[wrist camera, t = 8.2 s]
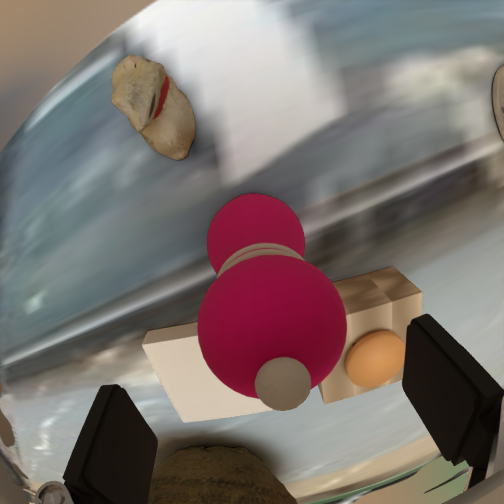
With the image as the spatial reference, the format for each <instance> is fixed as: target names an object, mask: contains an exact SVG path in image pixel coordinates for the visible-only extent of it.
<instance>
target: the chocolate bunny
mask: <svg viewBox="0 0 504 504" xmlns="http://www.w3.org/2000/svg"><path fill="white" fill-rule="evenodd" d="M112 85H113V89H114V91H113V93H112V103H113V104H114V106H115V107H117V108H118V109H119V110H120V111H121V112H123V113H124V114H125V115H127V116H128V118H129V120H130V123H131V125H132V126H133V127H134V128H135V129H136V130H137V131H138V132H139V133H141V135H142V136H143V138H144V139H145V140H146V142H147V143H148V144H149V145H150V146H151V147H152V148H153V149H154V150H155V151H157V152H158V153H160V154H162V155H164V156H167V157H170V158H172V159H175V160H182V159H184V158H186V157H187V155H188V152H189V148H190V145H191V143H192V141H193V140H194V136H195V131H196V125H195V118H194V115H193V112H192V108H191V106H190V103H189V101H188V99H187V97H186V96H185V95H184V93H183V92H182V91H180V90H179V89H178V88H177V86H176V85H175V83H174V81H173V80H172V78H171V77H170V76H168V75H167V74H166V73H165V69H164V67H163V65H162V64H160V63H157V62H155V61H152V60H148V59H145V58H143V57H140V56H136V55H129V56H128V57H126V58H124V59H123V60H122V61H121V62H120V63H119V64H118V65H117V67H116V68H115V69H114V72H113V74H112Z"/></svg>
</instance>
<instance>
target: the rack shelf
mask: <svg viewBox="0 0 504 504" xmlns="http://www.w3.org/2000/svg"><path fill="white" fill-rule="evenodd" d="M197 325H198V322H196V323H190V324H185V325H180V326H174V327H169V328H163V329H157V330H151V331H147V334H146V336H145V338H144V341H143V343H142V347H143V349H144V351H145V353H146V355H147V357H148V359H149V361H150V363H151V365H152V367H153V369H154V371H155V373H156V374H157V376H158V378H159V380H160V382H161V384H162V386H163V388H164V389H165V391H166V393H167V395H168V397H169V398H170V400H171V402H172V404H173V406H174V407H175V409H176V411H177V412H178V414H179V416H180V418H181V419H182V421H183V422H194V421H203V420H212V419H220V418H227V417H234V416H241V415H247V414H253V413H258V412H264V411H269V410H274V409H272V408H269V407H268V406H266V405H265V404H263V402H262V401H261V400H260V399H257V398H251V397H247V396H244V395H242V394H240V393H237V392H235V391H233V390H232V389H230V388H229V387H227V386H226V385H224V384H223V383H222V382H221V381H220V380H219V379H218V378H217V377H216V376H215V375H214V374H213V373H212V371H211V370H210V369H209V367H208V365H207V364H206V362H205V360H204V358H203V355H202V352H201V349H200V345H199V342H198V331H197Z"/></svg>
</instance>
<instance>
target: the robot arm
mask: <svg viewBox="0 0 504 504" xmlns="http://www.w3.org/2000/svg"><path fill="white" fill-rule="evenodd" d="M493 106H494V112H495V117H496V121H497V124H498V127H499V130H500V133H501V135H502V137H503V140H504V65H503V66H501V67H500V68H499V69H498V71H497V73H496V75H495V78H494V83H493ZM402 387H403V390H404V392H405V394H406V396H407V397H408V399H409V400H410V402H411V404H412V405H413V407H414V408H415V410H416V412H417V413H418V415H419V416H420V418H421V420H422V421H423V423H424V425H425V426H426V428H427V430H428V431H429V433H430V435H431V436H432V438H433V440H434V441H435V443H436V445H437V446H438V448H439V450H440V452H441V453H442V455H443V457H444V458H445V459H446V460H447V461H450V460H451V462H452V463H453V465H454V466H456V465H457V464H459V463H461V462H463V461H464V460H466V462H467V463H468V465H469V467H470V468H469V472H468V476H467V480H466V483H465V487H464V490H463V493H462V494H459V495H458V496H456V497H454V498H452V499H450V500H448V501H446V502H444V503H442V504H504V390H503V389H502V387H501V386H500V385H499V384H498V383H497V382H496V381H495V380H494V379H493V378H492V377H491V375H490V374H489V373H488V372H487V371H486V370H485V369H484V368H483V367H482V366H481V365H480V364H479V363H478V362H477V361H476V360H475V359H474V357H473V356H472V355H471V354H470V353H469V352H468V351H467V350H466V349H465V348H464V347H463V346H462V345H460V344H459V343H458V342H457V341H456V340H455V339H454V338H453V337H452V336H451V335H450V334H449V333H448V332H447V331H446V330H445V329H444V328H443V327H442V326H441V325H440V324H439V323H438V322H437V321H436V320H435V319H434V318H433V317H432V316H431V315H429V314H424V315H421V316H419V317H416V318H413V319H412V320H411V322H410V325H408V326H407V330H406V346H405V359H404V370H403V379H402ZM157 446H158V441H157V437H156V436H155V434H154V433H153V431H152V430H151V428H150V427H149V425H148V424H147V423H146V421H145V420H144V418H143V417H142V415H141V414H140V412H139V411H138V409H137V408H136V406H135V404H134V403H133V401H132V400H131V398H130V397H129V395H128V393H127V392H126V390H125V389H124V388H121V387H120V386H119V385H118V384H113V385H103V386H101V387H100V389H99V391H98V393H97V395H96V398H95V400H94V402H93V404H92V407H91V409H90V411H89V413H88V416H87V418H86V420H85V423H84V425H83V427H82V430H81V432H80V435H79V437H78V439H77V442H76V444H75V447H74V449H73V452H72V454H71V457H70V459H69V462H68V465H67V467H66V470H65V472H64V475H63V479H64V480H65V482H64V484H62V483H61V482H58V481H50V482H47V483H45V484H43V485H42V486H41V487H40V488H39V489H38V490H37V493H36V495H35V500H34V501H35V504H148V497H149V491H150V485H151V479H152V473H153V468H154V462H155V457H156V451H157Z"/></svg>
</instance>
